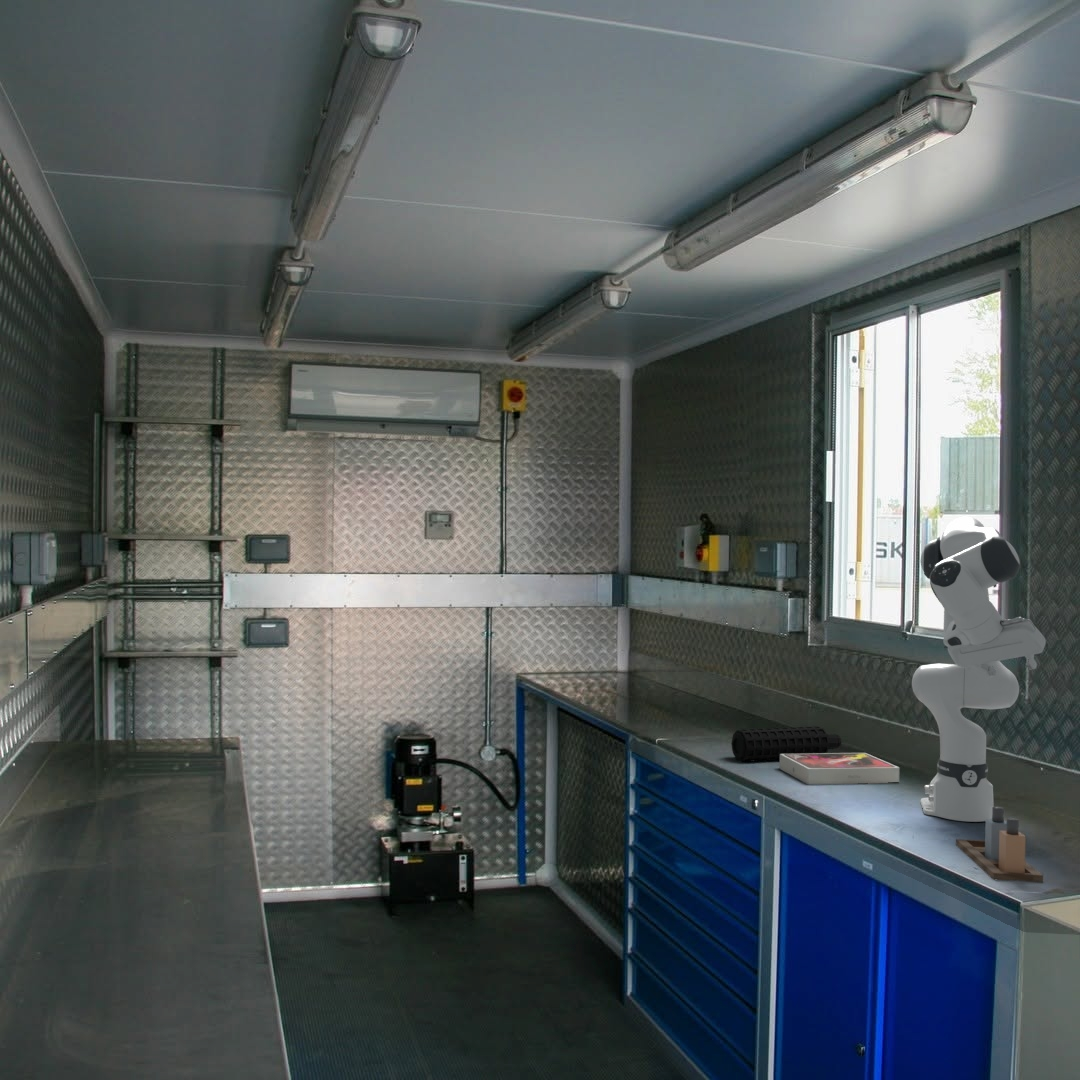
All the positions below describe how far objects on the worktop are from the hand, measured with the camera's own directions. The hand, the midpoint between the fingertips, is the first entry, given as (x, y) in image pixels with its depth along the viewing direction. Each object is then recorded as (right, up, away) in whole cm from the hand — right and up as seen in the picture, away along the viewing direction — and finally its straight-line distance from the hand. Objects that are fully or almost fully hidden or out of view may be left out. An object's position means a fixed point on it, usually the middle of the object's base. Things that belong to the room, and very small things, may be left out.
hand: (1012, 671), depth 241 cm
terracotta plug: (-4, -42, -9) cm, 44 cm away
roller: (-24, -42, +112) cm, 122 cm away
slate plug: (-4, -42, 0) cm, 42 cm away
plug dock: (-4, -42, 0) cm, 43 cm away
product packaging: (-15, -43, +87) cm, 98 cm away
